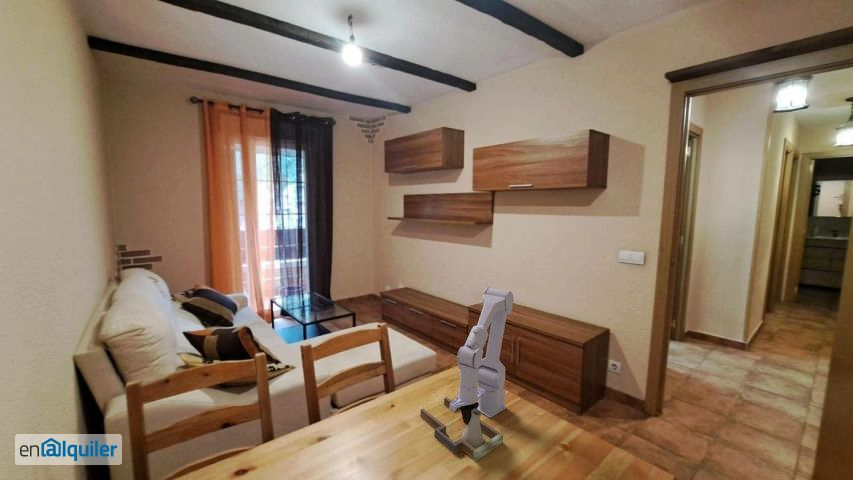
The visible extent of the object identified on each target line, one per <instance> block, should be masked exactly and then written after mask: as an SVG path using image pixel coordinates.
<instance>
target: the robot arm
mask: <svg viewBox="0 0 853 480" xmlns="http://www.w3.org/2000/svg"><path fill="white" fill-rule="evenodd" d="M481 297H482V306H483V307H482V310H481V312H480V315H479V319H478V322H477V325H474V326H473V327H472V328H471V330H470V332H469V335H468V336H467V339H466V341H465V343H464V345H463V346H460V348H459V349H458V351H457V354H456V355H457V356H456V361H457V365H458V366H457V367H458V369H459V388H458V389H459V390H458V391H457V396H456V397H455V398H454V399H453V400H454V401H453V402H451V403H450V407H449V408H448V409H449V410H450V411H451V412H453V413H456V411H457V409H459V411H460V413H461V414H460V415H461V417H462V420H463V423H464V424H465V425H466V426H467V425H468V423H469V421H470V419H471V417H472V410H473V409H478V410H480V411H481V414H483V415H484V416H486V417H487V418H489V419H491V418H493V417H494V416H496V415H498V414H499V413H501V412H502V411H505V410H507V406H506V405H505V404H506V403H505V401H506V400H505V399H506V389H505V387H504V385H505V382H506V367H505V366H504V364H503V363H502V362H501V360H500V357H501V356H500V355H501V350H502V344H503V340H504V334H505V333H504V332H505V326H506V320H507V316H508V315H511V314H512V311H513V305H514V299H515V298H514V294H513V292H512V291H510V290H503V289H497V288H491V287H489V286H487V287H486V288H484V290H483V293H482V296H481ZM489 327H490V330H489V331H488V329H489ZM487 339H488V342H487ZM486 342H487V346H486V352H485V357H484V358H483V355H484V347H485V345H486ZM478 387H479V388H478Z"/></svg>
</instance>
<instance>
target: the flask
mask: <svg viewBox="0 0 853 480" xmlns="http://www.w3.org/2000/svg"><path fill="white" fill-rule="evenodd" d="M481 416H482V413H481V411H480V410H478V409H473V410H472V417H471V419H470V421H469V423H468V425H466V427H465V428H464V430H463V431H462V433H461V438H462V439H464V440H465V441H466V442H467V443H469V444H470V445H471V446H473V447H474V448H475V449H477V448H479V447H480V446H482V445H483V444H484V436H483V432H482V431H481V426H480V420H481ZM461 438H460V439H461Z"/></svg>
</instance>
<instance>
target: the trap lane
mask: <svg viewBox="0 0 853 480" xmlns="http://www.w3.org/2000/svg"><path fill="white" fill-rule="evenodd" d="M453 401H454V399H450V398H449V397H446V396H445V397H444V398H443V406H445V407H447V408H448V409H449V407H450V403H451V402H453ZM420 418H422V419H423V420H424V421H425V422H426V423H428V424H429V425H430V426H432V427H433V428H434V438H436V440H438V441H439V442H441V443H442V445H444V446H445V447H446V448H447V449H449V451H451V452H452V453H453V454H456V453H458V452H460V451H463V452H464V453H465V454H467V456H469V458H471V459H473V460H474V461H475V462H477V461H478V460H480V459H482V458H483V457H484V456H487V454H489V453H490V452H491V451H493V450H494V449H496V448H497V447H499V446H500V445H502V444H503V443H504V434H502V433H501V432H500V431H498V430H497V429H495V428H493V427H492V426H490V425H489V424H487V423H486V422H484V421H483V420H481V419H480V426H481V431H482V433H484V434H486V435H487V436H488V437H490V438H491V439H489V440H488V441H486V442H485V443H483V444H482V445H481V446H480V447H479V448H474V447H473V446H471V445H470V444H469V443H467V442H466V441H465V440H464V439H462V438H460V439H458V440H455V441H453V440H452V439H451V438H449V437H448V436H447V435H446V434H447V425H445V424H444V423H442V421H441V420H438V418H436V417H435V416H434V415H432V414H431V413H429V411H427V410H426V409H424V408H421V409H420Z"/></svg>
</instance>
